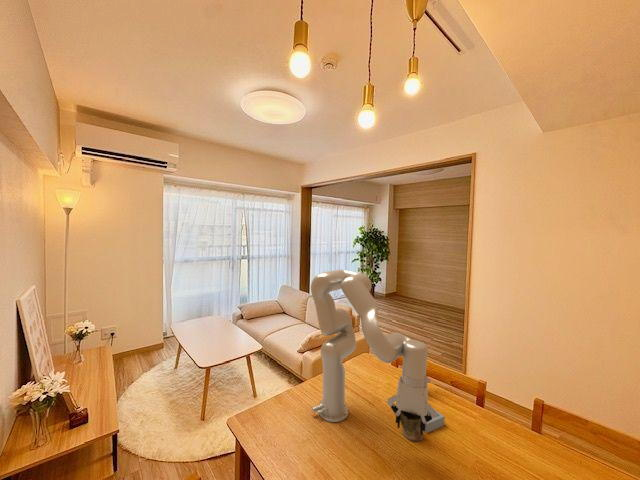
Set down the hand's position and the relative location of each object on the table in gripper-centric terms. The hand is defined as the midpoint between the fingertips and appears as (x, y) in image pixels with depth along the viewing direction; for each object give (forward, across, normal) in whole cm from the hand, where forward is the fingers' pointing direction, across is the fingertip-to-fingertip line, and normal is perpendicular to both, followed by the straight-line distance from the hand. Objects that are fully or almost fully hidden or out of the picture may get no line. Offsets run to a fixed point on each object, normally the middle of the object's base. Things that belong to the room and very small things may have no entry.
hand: (409, 428), depth 88 cm
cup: (+2, 0, 0) cm, 2 cm away
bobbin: (+10, -2, -11) cm, 15 cm away
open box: (+10, -6, -21) cm, 24 cm away
